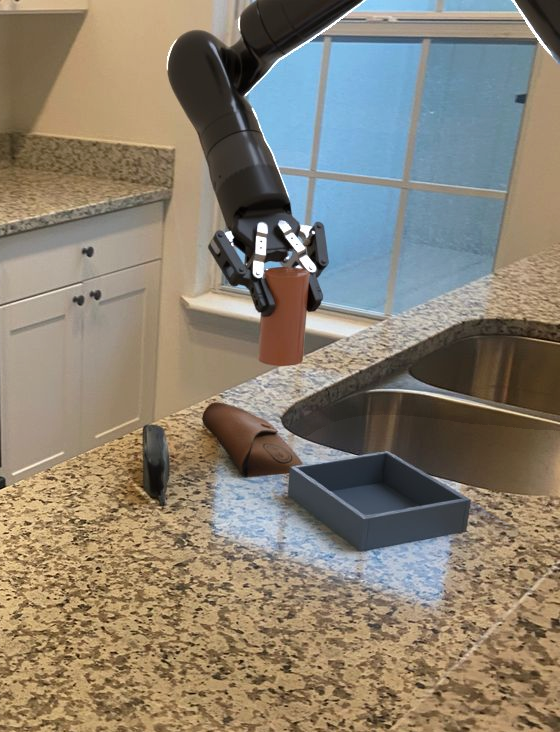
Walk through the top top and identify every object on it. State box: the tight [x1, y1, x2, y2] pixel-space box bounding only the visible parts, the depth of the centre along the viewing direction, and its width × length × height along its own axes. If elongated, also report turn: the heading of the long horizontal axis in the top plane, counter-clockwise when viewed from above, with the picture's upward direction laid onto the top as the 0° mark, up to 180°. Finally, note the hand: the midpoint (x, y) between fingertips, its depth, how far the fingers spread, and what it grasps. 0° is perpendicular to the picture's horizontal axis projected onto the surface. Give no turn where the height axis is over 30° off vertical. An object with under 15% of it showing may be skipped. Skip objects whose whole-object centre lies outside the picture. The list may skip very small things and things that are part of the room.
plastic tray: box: [287, 450, 472, 553], centre depth 107 cm, size 12×14×4 cm
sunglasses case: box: [201, 401, 305, 478], centre depth 125 cm, size 18×7×7 cm
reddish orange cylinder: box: [257, 266, 310, 367], centre depth 115 cm, size 5×5×10 cm
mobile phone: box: [141, 423, 171, 507], centre depth 117 cm, size 5×3×15 cm
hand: (292, 309), depth 113 cm, fingers closed on reddish orange cylinder, 5 cm apart
